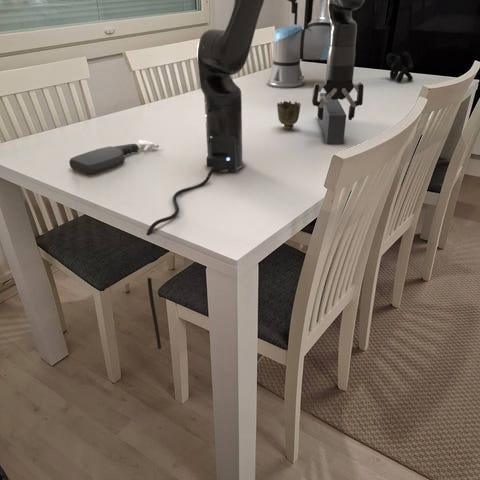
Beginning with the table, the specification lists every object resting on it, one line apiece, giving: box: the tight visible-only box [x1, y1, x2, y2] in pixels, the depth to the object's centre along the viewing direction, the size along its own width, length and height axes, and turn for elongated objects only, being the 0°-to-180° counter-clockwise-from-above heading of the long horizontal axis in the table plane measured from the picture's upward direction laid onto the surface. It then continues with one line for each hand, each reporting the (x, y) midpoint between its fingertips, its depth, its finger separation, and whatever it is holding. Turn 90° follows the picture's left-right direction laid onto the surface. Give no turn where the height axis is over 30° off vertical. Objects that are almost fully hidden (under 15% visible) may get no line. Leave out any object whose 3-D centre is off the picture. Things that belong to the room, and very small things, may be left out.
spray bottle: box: [68, 139, 160, 177], centre depth 124 cm, size 3×11×24 cm
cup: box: [276, 100, 302, 131], centre depth 143 cm, size 8×7×8 cm
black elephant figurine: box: [385, 51, 414, 83], centre depth 198 cm, size 11×10×15 cm
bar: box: [317, 92, 347, 145], centre depth 141 cm, size 26×5×9 cm, turn 177°
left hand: (335, 119), depth 133 cm, fingers open, 8 cm apart
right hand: (315, 24), depth 152 cm, fingers open, 13 cm apart
